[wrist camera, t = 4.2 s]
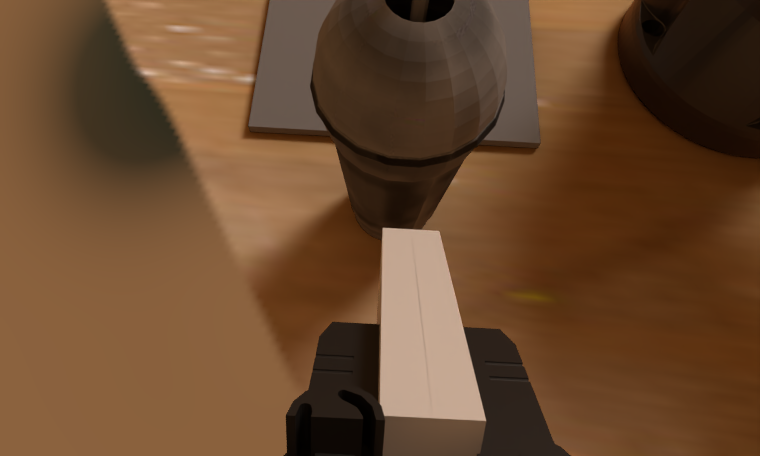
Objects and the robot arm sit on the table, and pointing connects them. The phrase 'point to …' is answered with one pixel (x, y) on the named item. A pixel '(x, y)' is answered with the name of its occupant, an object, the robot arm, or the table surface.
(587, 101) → the table surface
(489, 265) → the table surface
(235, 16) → the table surface
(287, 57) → the rubber mat
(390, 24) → the beverage cup
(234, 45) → the table surface
